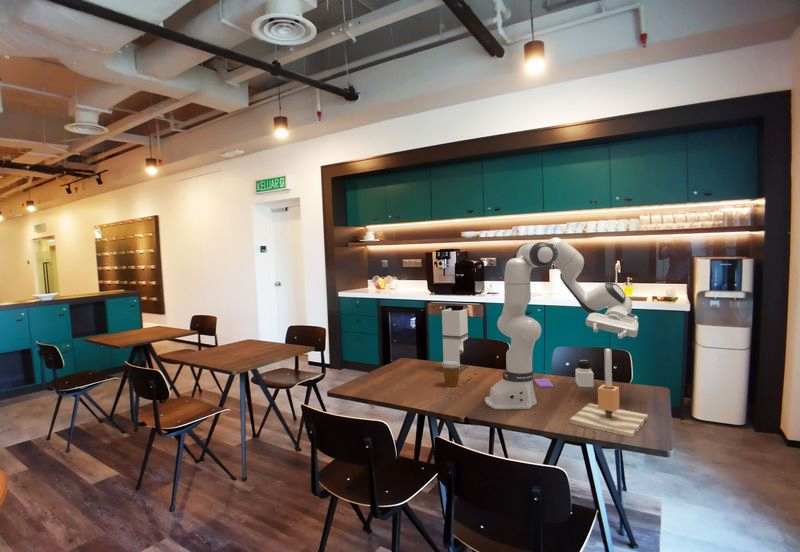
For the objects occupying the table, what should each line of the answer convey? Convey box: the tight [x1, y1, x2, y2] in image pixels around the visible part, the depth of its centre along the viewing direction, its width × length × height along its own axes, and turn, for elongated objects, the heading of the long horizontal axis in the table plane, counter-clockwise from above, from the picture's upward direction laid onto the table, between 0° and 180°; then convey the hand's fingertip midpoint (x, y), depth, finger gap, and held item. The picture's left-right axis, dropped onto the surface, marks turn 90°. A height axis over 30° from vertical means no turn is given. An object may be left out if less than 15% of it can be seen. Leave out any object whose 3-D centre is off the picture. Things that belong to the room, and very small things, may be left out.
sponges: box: [533, 377, 555, 389], centre depth 214 cm, size 7×13×2 cm, turn 177°
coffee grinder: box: [441, 307, 470, 374], centre depth 244 cm, size 11×11×35 cm
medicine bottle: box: [574, 359, 595, 388], centre depth 210 cm, size 7×7×12 cm
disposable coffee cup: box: [441, 360, 462, 388], centre depth 217 cm, size 10×10×12 cm
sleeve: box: [597, 384, 620, 412], centre depth 165 cm, size 6×6×8 cm
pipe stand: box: [569, 403, 649, 438], centre depth 166 cm, size 22×22×2 cm
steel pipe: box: [604, 348, 613, 418], centre depth 165 cm, size 3×3×26 cm
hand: (607, 333), depth 178 cm, fingers open, 8 cm apart
